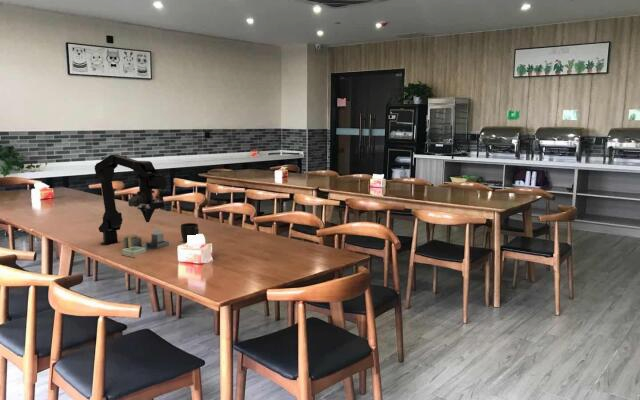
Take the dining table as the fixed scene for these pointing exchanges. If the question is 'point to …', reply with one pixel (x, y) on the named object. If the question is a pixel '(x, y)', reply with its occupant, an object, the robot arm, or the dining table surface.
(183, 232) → the mug
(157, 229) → the grey block
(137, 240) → the socket block
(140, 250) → the grey square frame
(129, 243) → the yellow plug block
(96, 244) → the dining table surface
